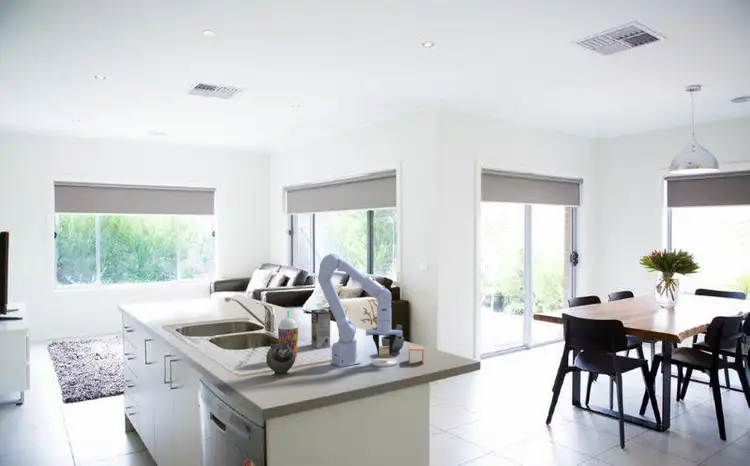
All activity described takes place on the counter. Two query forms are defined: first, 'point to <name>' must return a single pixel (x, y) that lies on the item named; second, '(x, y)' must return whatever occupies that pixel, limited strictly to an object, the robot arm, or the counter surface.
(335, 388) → the counter surface
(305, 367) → the counter surface
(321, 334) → the coffee box
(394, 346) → the mortar and pestle
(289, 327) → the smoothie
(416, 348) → the cover
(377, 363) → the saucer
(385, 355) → the block
